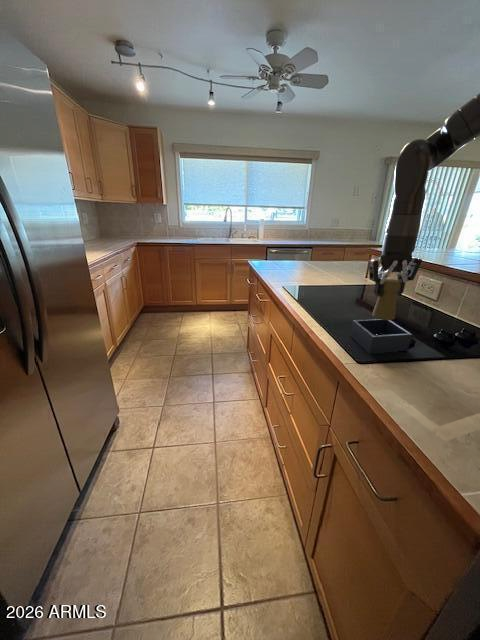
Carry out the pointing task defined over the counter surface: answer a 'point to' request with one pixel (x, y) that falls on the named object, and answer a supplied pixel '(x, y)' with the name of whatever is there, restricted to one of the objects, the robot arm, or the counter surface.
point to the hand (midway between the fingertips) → (387, 295)
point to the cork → (387, 300)
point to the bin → (380, 336)
